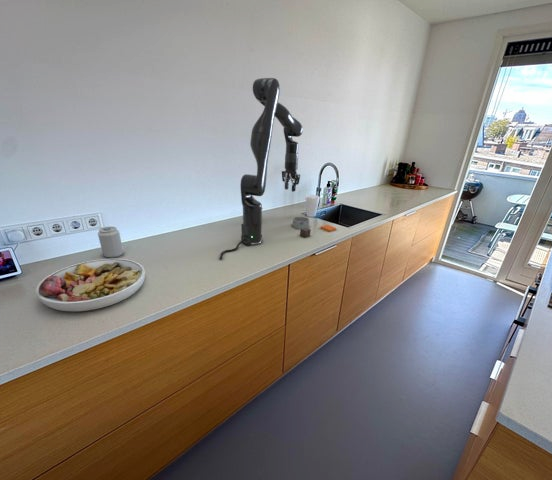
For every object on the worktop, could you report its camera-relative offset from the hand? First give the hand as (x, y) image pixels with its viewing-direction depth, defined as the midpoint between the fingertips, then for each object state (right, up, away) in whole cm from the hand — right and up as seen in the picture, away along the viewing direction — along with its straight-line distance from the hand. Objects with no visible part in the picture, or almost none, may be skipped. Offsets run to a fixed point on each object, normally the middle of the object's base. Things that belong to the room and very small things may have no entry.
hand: (289, 190), depth 172 cm
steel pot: (+6, -21, +2) cm, 22 cm away
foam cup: (+14, -12, +24) cm, 30 cm away
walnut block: (+9, -29, -13) cm, 32 cm away
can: (-74, -40, -49) cm, 97 cm away
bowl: (-64, -53, -73) cm, 110 cm away
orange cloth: (+23, -23, +1) cm, 33 cm away
